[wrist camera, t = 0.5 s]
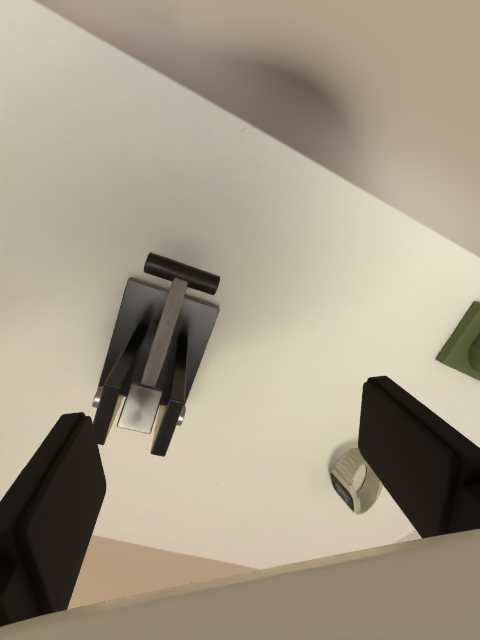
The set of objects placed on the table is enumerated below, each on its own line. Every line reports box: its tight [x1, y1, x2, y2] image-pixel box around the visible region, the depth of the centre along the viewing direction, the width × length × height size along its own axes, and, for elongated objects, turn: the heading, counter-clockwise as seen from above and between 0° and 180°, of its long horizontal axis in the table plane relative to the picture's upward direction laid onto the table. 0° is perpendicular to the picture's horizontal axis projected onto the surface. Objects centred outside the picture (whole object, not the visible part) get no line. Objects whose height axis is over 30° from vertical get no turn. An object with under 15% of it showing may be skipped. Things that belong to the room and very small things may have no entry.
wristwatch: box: [330, 448, 382, 514], centre depth 38 cm, size 9×6×5 cm
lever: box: [117, 252, 220, 434], centre depth 22 cm, size 12×6×2 cm, turn 159°
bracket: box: [92, 278, 220, 457], centre depth 25 cm, size 12×9×13 cm
